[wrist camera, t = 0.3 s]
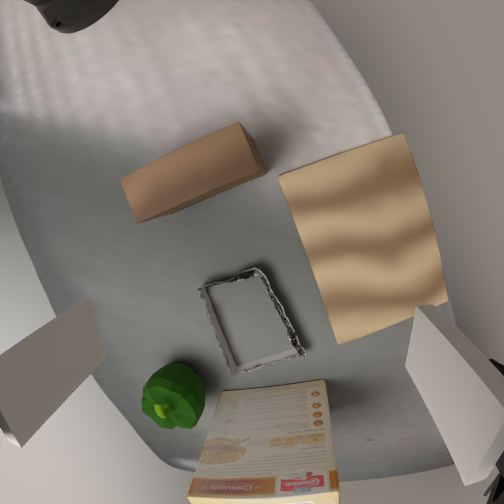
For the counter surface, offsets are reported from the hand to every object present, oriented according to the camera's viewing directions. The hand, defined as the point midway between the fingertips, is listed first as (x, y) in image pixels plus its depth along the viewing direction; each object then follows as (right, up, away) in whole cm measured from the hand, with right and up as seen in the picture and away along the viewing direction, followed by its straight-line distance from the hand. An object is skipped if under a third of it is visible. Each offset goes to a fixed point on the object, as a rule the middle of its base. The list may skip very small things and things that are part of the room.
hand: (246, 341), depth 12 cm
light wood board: (+15, +4, +24) cm, 28 cm away
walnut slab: (-4, +12, +24) cm, 27 cm away
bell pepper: (-9, -15, +31) cm, 35 cm away
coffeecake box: (+4, -18, +30) cm, 36 cm away
